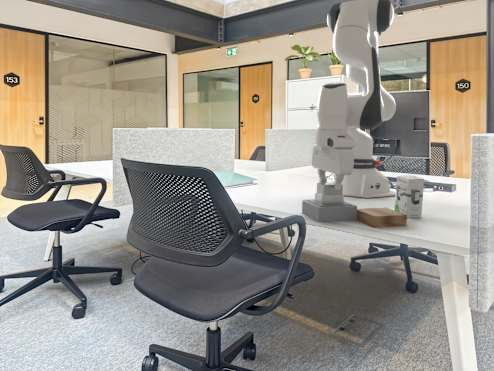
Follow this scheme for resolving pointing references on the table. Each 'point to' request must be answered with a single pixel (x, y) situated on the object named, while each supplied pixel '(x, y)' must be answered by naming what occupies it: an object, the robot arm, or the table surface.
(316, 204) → the grey riser
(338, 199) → the housing
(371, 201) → the table surface
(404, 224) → the walnut stand
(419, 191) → the ink box
